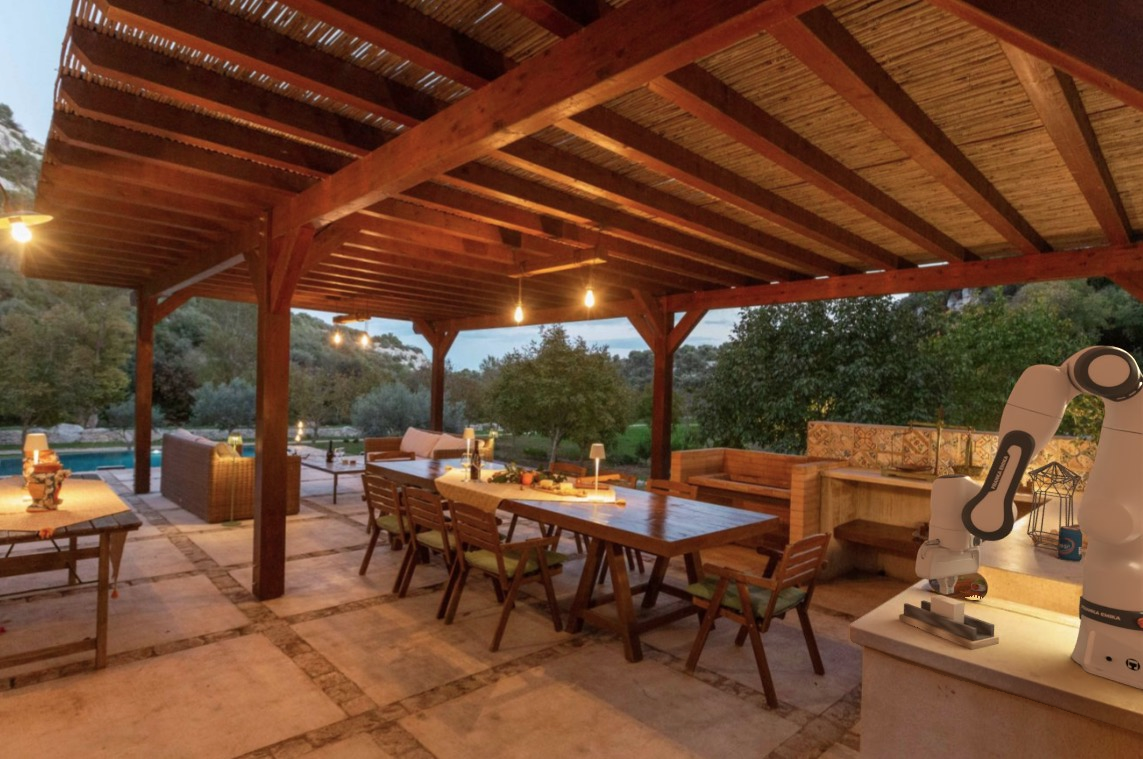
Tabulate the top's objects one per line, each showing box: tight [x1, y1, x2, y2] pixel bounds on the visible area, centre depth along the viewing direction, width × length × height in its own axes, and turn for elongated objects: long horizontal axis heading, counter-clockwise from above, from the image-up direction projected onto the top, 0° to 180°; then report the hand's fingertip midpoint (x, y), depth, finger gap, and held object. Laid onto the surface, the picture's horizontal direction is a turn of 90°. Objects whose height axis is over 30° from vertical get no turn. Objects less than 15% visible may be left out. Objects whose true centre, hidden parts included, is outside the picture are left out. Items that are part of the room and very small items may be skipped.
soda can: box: [1057, 525, 1083, 563], centre depth 232 cm, size 7×7×12 cm
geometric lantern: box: [1026, 461, 1083, 552], centre depth 251 cm, size 16×16×35 cm
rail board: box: [898, 600, 1000, 650], centre depth 156 cm, size 19×10×4 cm, turn 25°
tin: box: [927, 572, 989, 600], centre depth 184 cm, size 15×3×8 cm, turn 50°
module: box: [930, 594, 965, 624], centre depth 156 cm, size 6×4×6 cm, turn 25°
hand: (946, 593), depth 156 cm, fingers closed
